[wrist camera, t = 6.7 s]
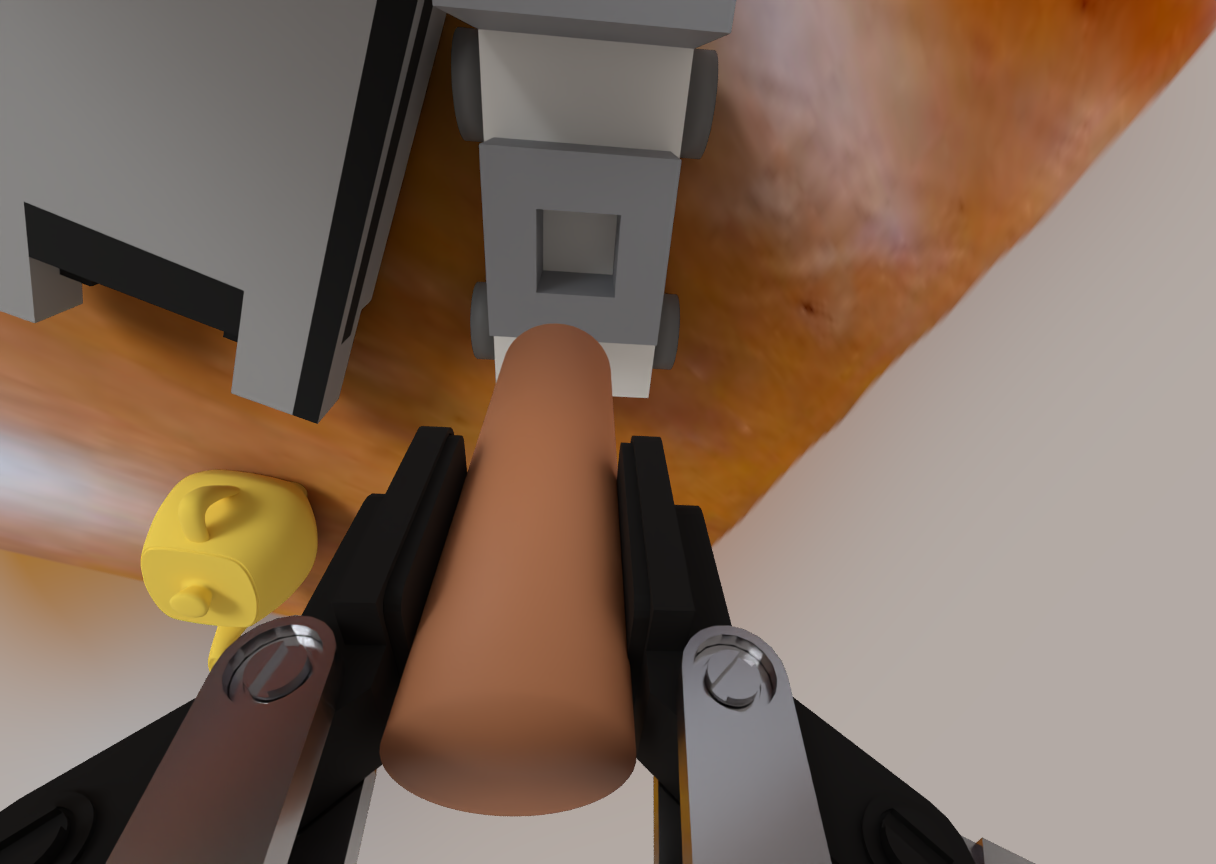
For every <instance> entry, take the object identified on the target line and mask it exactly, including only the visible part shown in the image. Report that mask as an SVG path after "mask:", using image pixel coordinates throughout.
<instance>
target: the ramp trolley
mask: <svg viewBox="0 0 1216 864" xmlns="http://www.w3.org/2000/svg"><path fill="white" fill-rule="evenodd" d="M432 3H433V6H435V7H437V8H439V9H441V10H442V11H444V12H446V13H448V14H450V15H452V16H454V17H456V18H458V19H460V20H462V21H464V22H466V23H467V24H469V25H471V26H473V27H475V28H477V29H474V28H463V27H457V28H456V29H455V32H454V35H453V41H452V51H451V77H452V92H453V101H454V108H455V114H456V119H457V124H458V128H459V131H460V134H461V136H462V138H463V139H464V140H465V141H477V142H482V143H480V144H479V156H480V174H481V193H482V211H483V229H484V247H485V265H486V282H477V283H476V284H475V287H474V290H473V295H472V302H471V318H470V326H471V341H472V348H473V352H474V355H475V357H476V358H477V359H492V360H495V371H496V382H497V379H498V376H499V373H500V370H501V367H502V364H503V360H504V357H505V354H506V352H507V350H508V348H509V347H510V345H511V344H512V342H513V341H514V340H515V339H516V338H517V337H518V336H519V335H521V334H522V333H523V332H525V331H527V330H529V329H531V328H533V327H536V326H539V325H543V324H566V325H570V326H574V327H576V328H579V329H581V330H583V331H585V332H586V333H588V334H589V335H591V336H592V337H593V338H594V339H595V340H596V341H598V343H599V344H600V345H601V346H602V348H603V349H604V351H605V352H606V355H607V357H608V360H609V363H610V369H611V381H612V396H618V397H637V398H648V397H649V389H650V381H651V374H652V369H671V368H672V367H673V364H674V361H675V357H676V352H677V346H678V338H679V325H680V307H679V299H678V296H677V295H676V294H664V288H665V281H666V273H667V266H668V258H669V251H670V243H671V236H672V228H673V221H674V213H675V205H676V198H677V190H678V183H679V175H680V168H681V159H680V158H691V159H700V158H701V157H702V155H703V153H704V151H705V148H706V145H707V142H708V138H709V134H710V130H711V125H712V120H713V114H714V108H715V102H716V93H717V83H718V57H717V53H716V51H715V50H704V49H695V48H697V47H699V46H702V45H704V44H706V43H709V42H711V41H714V40H716V39H718V38H721V37H723V36H725V35H728V34H730V33H731V29H732V23H733V17H734V11H735V4H736V0H432Z"/></svg>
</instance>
